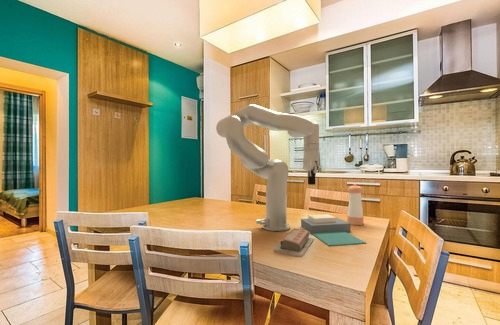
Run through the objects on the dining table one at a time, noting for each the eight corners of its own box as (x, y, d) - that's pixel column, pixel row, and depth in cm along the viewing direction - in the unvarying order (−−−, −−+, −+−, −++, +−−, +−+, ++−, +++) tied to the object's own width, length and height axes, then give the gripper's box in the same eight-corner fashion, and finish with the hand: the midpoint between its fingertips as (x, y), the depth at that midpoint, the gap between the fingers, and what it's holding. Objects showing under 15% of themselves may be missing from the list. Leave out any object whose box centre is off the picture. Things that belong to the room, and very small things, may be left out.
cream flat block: (314, 223, 107) (314, 218, 107) (308, 219, 114) (308, 215, 114) (335, 222, 109) (335, 217, 109) (328, 218, 116) (328, 214, 116)
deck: (311, 233, 103) (311, 225, 103) (301, 226, 115) (301, 218, 115) (350, 231, 106) (350, 223, 106) (336, 224, 118) (336, 217, 118)
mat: (328, 246, 88) (328, 245, 88) (311, 233, 103) (311, 232, 103) (366, 243, 91) (366, 242, 91) (344, 231, 106) (344, 230, 106)
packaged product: (289, 226, 99) (313, 229, 95) (289, 238, 99) (313, 241, 95) (273, 239, 83) (302, 243, 79) (273, 253, 83) (302, 258, 79)
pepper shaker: (359, 221, 123) (358, 183, 123) (366, 225, 116) (366, 185, 116) (344, 221, 123) (344, 183, 123) (351, 225, 116) (351, 185, 116)
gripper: (298, 148, 129) (299, 183, 129) (310, 146, 114) (310, 186, 114) (312, 148, 130) (312, 182, 130) (325, 146, 115) (325, 185, 115)
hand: (311, 184), depth 122 cm, fingers closed
